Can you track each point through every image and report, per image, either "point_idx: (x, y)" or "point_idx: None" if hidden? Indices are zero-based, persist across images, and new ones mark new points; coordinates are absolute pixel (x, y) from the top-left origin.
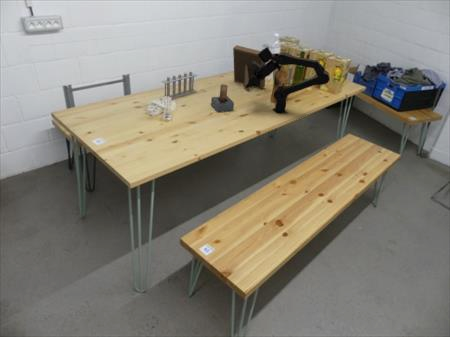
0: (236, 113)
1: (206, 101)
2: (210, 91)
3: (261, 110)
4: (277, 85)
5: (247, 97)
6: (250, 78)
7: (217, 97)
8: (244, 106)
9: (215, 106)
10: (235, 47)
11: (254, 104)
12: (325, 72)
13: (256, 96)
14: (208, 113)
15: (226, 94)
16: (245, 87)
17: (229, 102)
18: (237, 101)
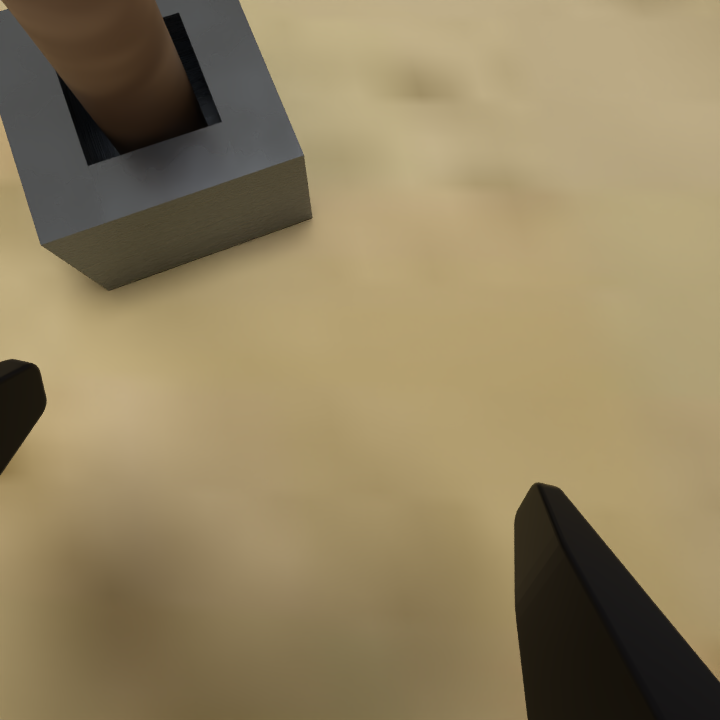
0: (28, 328)
1: (343, 4)
2: (662, 42)
3: (164, 695)
4: None
5: (610, 502)
6: (645, 605)
7: (218, 19)
8: (272, 443)
9: None
10: None
11: (372, 596)
12: None
13: (694, 649)
14: None
15: (41, 43)
16: (25, 380)
17: (40, 177)
18: (426, 354)
